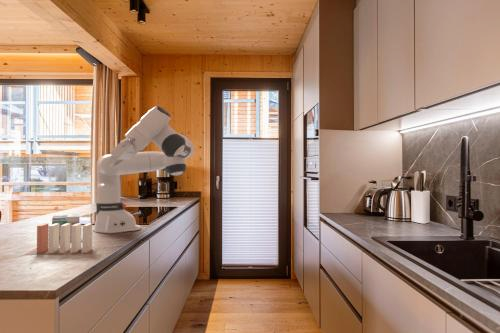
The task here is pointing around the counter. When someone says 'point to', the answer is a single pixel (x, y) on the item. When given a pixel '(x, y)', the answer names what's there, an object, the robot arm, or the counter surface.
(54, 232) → the domino
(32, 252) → the thin board
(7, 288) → the counter surface
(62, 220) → the light bulb box
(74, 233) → the domino
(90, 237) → the domino
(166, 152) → the robot arm
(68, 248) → the domino
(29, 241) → the counter surface
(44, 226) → the domino
